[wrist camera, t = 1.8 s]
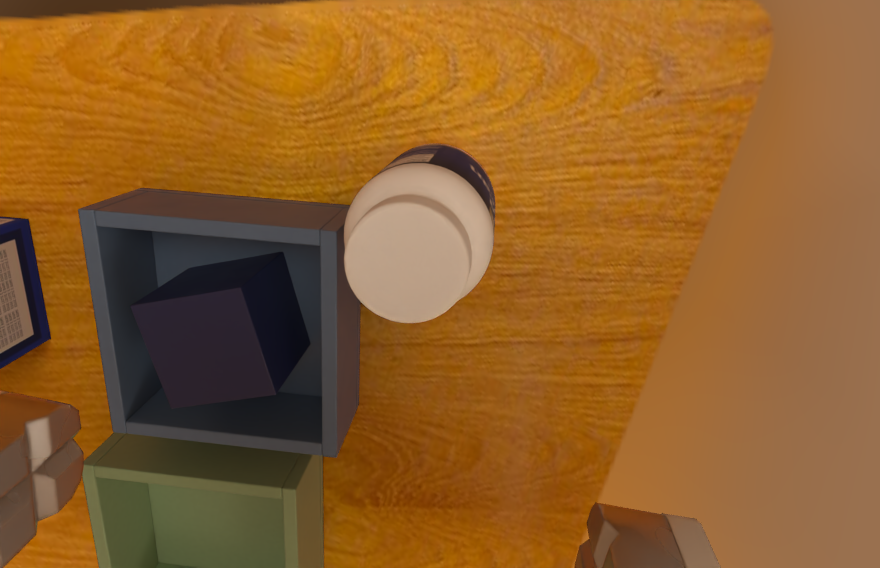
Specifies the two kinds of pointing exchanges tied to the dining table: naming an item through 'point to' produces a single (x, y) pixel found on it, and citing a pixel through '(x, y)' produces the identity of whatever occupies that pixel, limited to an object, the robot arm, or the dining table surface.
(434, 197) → the pill bottle
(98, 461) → the green bin
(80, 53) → the dining table surface
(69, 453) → the robot arm
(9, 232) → the milk carton
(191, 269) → the navy block
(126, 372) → the blue bin
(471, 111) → the dining table surface
